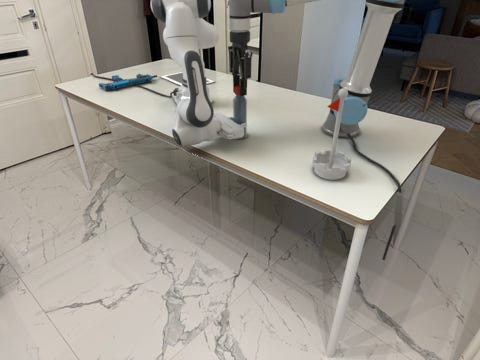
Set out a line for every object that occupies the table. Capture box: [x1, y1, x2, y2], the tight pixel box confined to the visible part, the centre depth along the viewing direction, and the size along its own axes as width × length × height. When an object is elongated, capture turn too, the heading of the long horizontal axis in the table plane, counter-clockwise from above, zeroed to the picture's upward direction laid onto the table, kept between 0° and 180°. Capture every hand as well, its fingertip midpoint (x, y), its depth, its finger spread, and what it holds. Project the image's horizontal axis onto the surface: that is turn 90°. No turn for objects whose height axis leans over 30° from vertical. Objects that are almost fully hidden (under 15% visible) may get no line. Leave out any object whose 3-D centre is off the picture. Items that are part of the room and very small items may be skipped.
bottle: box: [232, 94, 248, 140], centre depth 140 cm, size 6×6×21 cm
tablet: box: [160, 71, 216, 87], centre depth 213 cm, size 32×20×1 cm, turn 41°
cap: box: [233, 85, 240, 96], centre depth 135 cm, size 4×4×3 cm
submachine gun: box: [98, 73, 158, 91], centre depth 208 cm, size 34×4×25 cm
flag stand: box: [312, 88, 352, 181], centre depth 113 cm, size 13×13×30 cm
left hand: (241, 121), depth 142 cm, fingers closed on bottle, 5 cm apart
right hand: (240, 93), depth 135 cm, fingers closed on cap, 4 cm apart
